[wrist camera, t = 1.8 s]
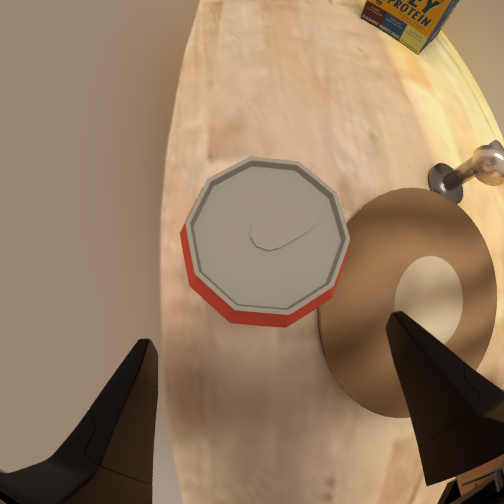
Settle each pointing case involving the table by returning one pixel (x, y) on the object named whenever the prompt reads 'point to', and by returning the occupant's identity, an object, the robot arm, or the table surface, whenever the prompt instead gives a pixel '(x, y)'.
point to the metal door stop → (469, 172)
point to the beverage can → (265, 242)
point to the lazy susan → (407, 292)
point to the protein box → (409, 19)
